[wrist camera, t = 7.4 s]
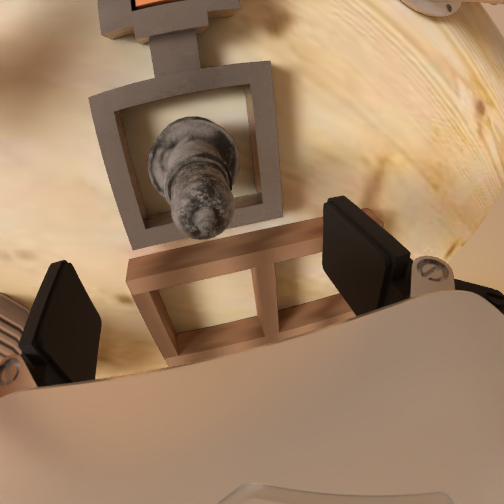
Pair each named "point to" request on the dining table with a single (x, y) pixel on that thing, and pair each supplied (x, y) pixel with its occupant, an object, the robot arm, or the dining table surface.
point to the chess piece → (196, 175)
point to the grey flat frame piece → (177, 83)
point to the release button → (152, 3)
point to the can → (11, 325)
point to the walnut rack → (224, 262)
